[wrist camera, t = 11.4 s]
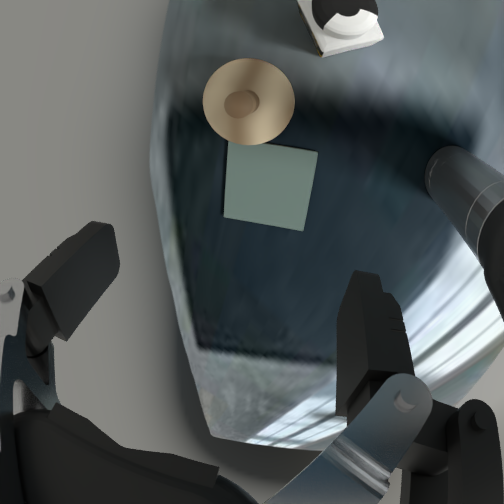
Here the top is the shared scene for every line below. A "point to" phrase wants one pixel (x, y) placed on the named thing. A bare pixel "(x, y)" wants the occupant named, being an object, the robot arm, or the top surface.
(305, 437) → the top surface
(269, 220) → the mat
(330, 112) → the top surface
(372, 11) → the medicine bottle
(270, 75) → the lid
